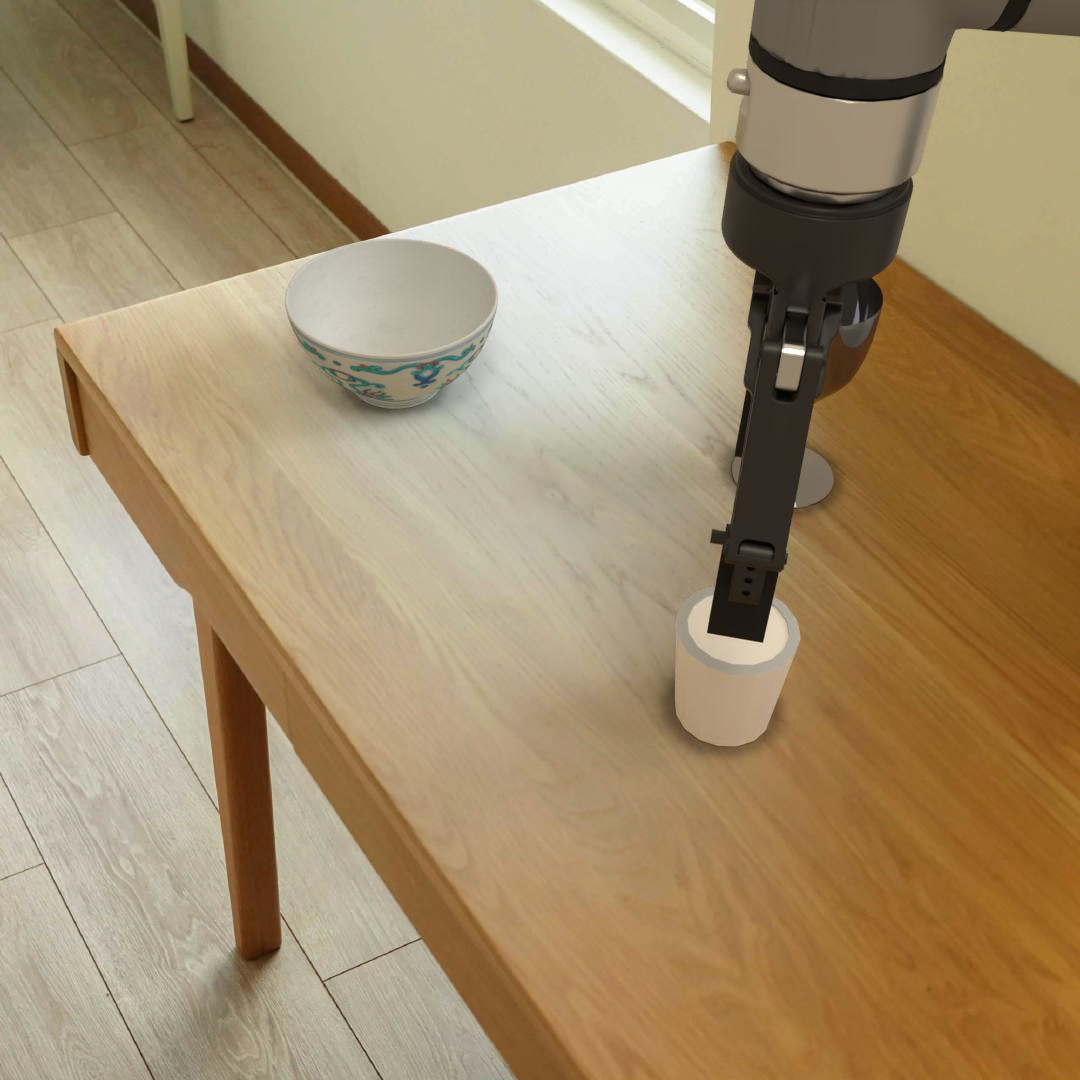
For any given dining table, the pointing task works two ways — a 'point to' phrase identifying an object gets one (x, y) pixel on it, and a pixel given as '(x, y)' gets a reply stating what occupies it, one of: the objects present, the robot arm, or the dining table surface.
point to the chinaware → (392, 317)
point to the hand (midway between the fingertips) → (748, 538)
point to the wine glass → (838, 378)
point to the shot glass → (729, 673)
